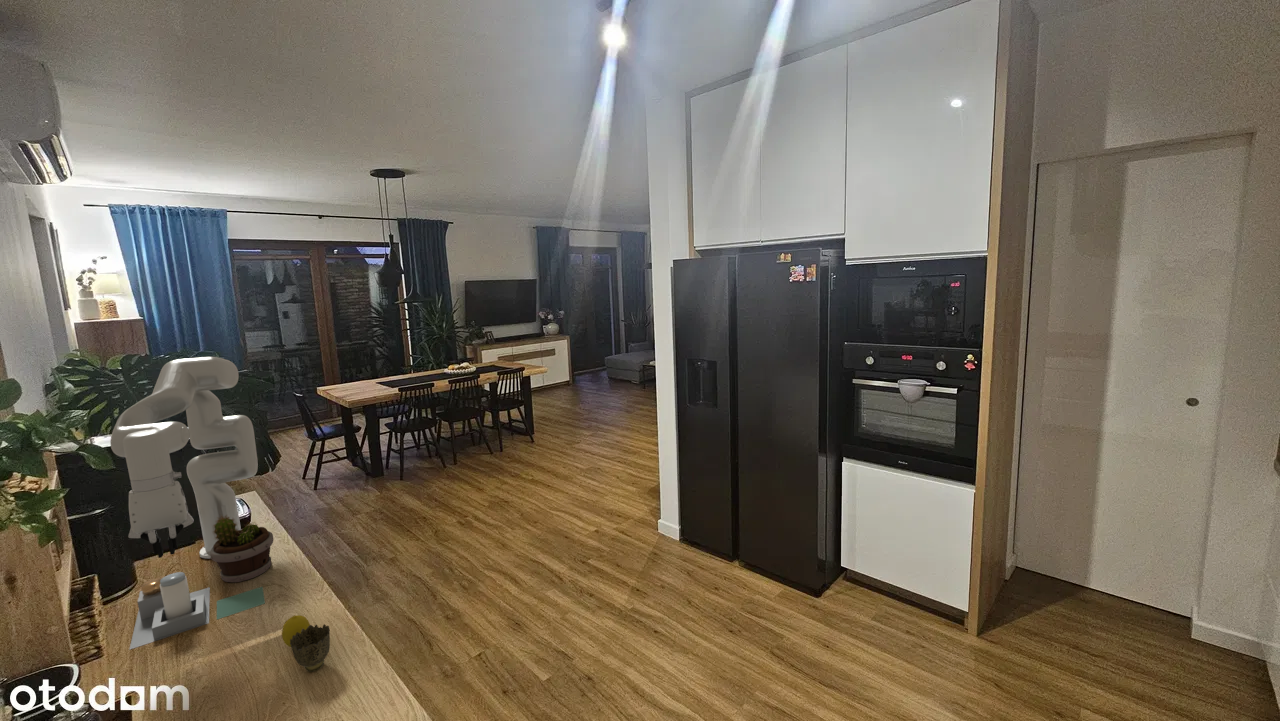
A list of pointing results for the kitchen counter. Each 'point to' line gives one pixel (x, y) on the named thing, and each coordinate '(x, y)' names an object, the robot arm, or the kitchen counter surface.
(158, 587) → the plunger
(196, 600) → the grey base with tray
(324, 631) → the spiky dark pot
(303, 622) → the lemon
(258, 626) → the kitchen counter surface
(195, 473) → the robot arm
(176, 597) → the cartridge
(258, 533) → the flowerpot
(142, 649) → the kitchen counter surface
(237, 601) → the mat
